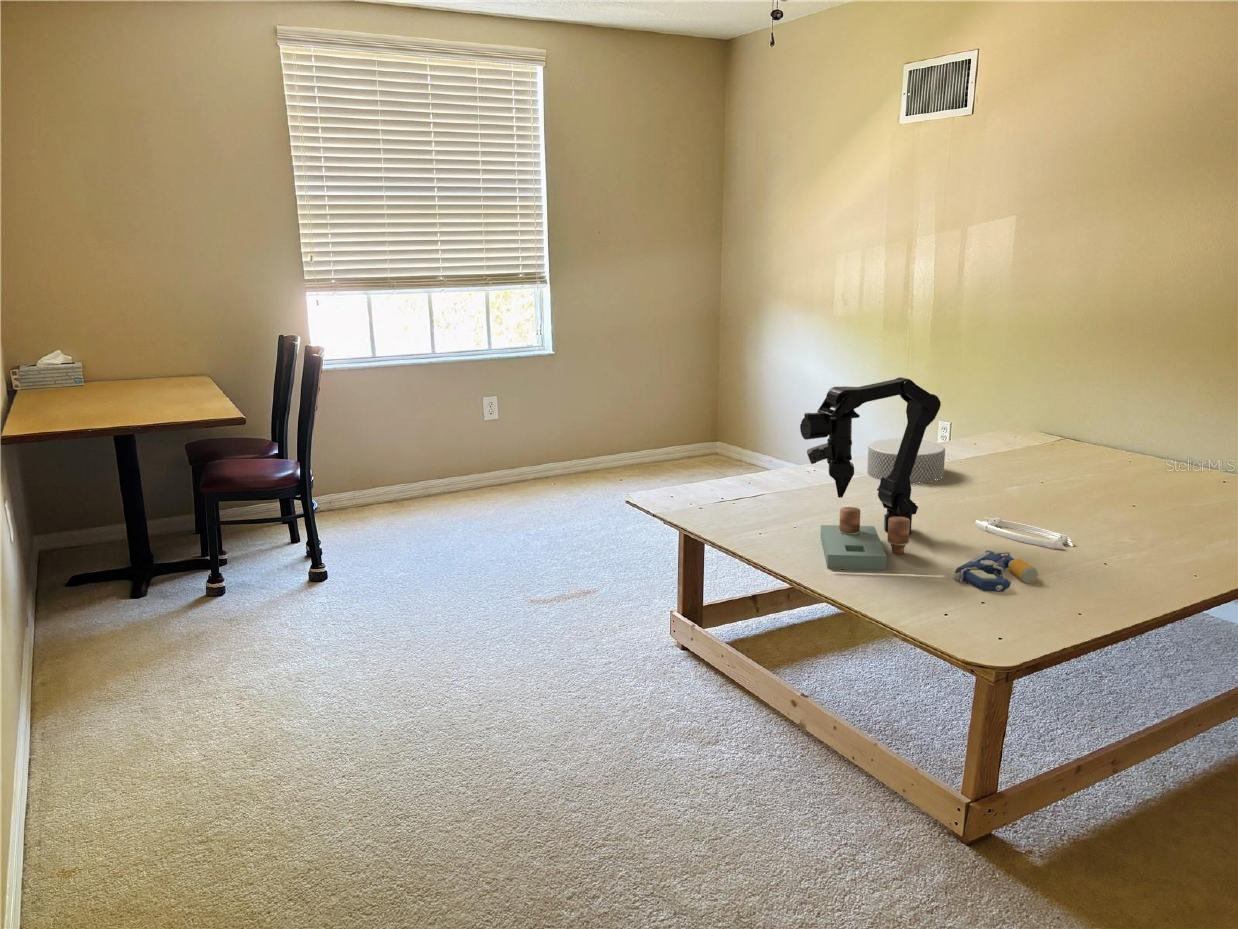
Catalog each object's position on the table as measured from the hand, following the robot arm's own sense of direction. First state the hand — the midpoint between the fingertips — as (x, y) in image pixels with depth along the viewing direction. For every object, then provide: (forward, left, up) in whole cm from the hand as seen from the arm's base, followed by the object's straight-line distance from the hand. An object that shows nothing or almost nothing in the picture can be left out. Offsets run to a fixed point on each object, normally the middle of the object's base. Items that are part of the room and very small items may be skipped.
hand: (839, 492), depth 223 cm
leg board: (-2, +11, -14) cm, 17 cm away
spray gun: (-35, +24, -14) cm, 45 cm away
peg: (-14, +10, -14) cm, 22 cm away
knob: (-29, -71, -14) cm, 78 cm away
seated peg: (-2, +4, -13) cm, 14 cm away
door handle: (-49, -7, -14) cm, 51 cm away
